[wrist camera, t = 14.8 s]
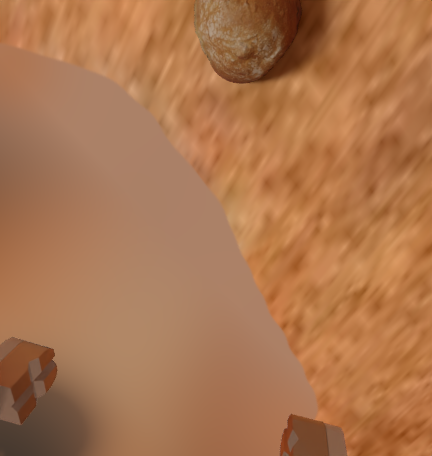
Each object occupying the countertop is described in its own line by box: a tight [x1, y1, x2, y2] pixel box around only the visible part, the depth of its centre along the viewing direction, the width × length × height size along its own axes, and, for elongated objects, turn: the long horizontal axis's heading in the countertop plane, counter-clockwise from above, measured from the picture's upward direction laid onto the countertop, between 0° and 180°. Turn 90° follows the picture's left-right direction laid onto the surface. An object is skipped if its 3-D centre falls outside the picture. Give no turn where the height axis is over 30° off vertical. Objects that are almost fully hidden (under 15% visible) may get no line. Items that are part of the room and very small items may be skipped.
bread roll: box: [194, 0, 302, 83], centre depth 29 cm, size 10×10×8 cm
